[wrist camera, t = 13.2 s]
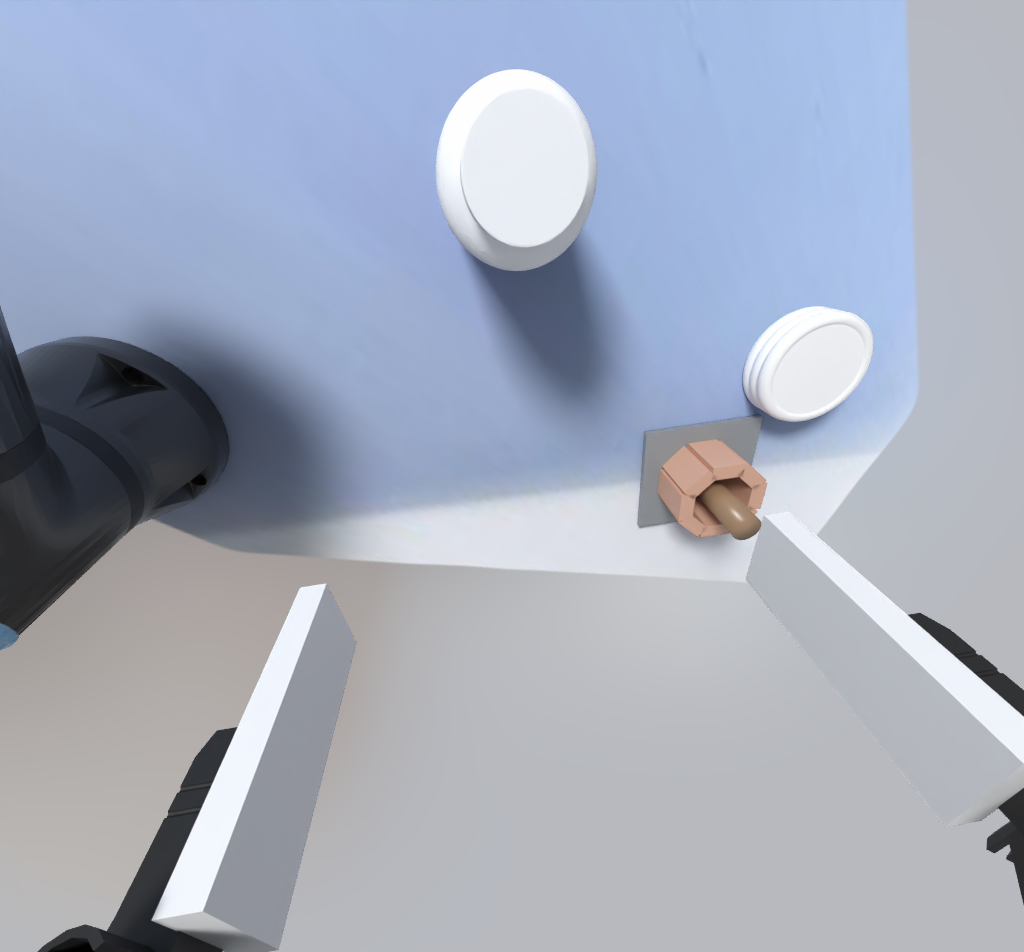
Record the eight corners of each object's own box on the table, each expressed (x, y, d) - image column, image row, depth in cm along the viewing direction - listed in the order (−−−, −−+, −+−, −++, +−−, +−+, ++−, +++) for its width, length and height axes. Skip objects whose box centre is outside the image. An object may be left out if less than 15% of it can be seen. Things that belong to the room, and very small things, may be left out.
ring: (655, 512, 46) (675, 541, 41) (662, 447, 41) (685, 472, 37) (727, 501, 46) (754, 529, 42) (742, 435, 41) (773, 459, 37)
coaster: (864, 306, 37) (900, 313, 34) (817, 409, 42) (844, 423, 39) (761, 303, 35) (789, 310, 33) (726, 410, 41) (746, 424, 38)
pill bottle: (576, 166, 29) (660, 122, 17) (523, 277, 32) (560, 309, 20) (472, 93, 26) (482, -23, 14) (427, 223, 30) (402, 220, 17)
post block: (637, 523, 47) (673, 585, 39) (644, 431, 41) (689, 482, 33) (737, 508, 47) (794, 566, 39) (759, 414, 41) (832, 461, 33)
